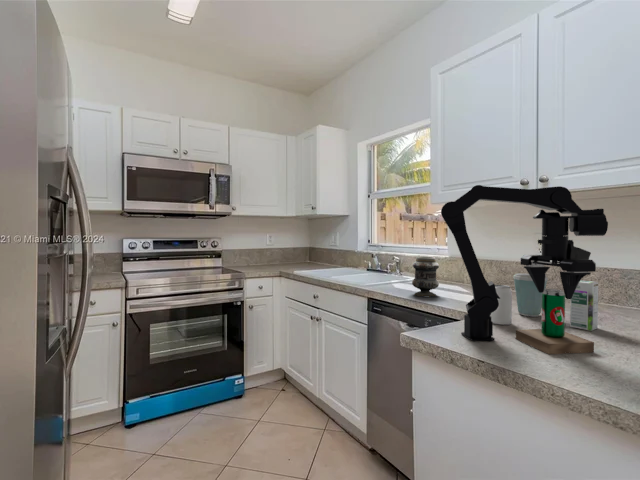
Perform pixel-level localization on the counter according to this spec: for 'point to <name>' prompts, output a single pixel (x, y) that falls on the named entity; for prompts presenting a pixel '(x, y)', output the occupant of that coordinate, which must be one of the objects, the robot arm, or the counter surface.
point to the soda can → (553, 313)
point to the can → (503, 306)
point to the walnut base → (555, 342)
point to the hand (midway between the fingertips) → (554, 295)
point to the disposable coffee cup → (528, 295)
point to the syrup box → (584, 306)
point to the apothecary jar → (425, 275)
